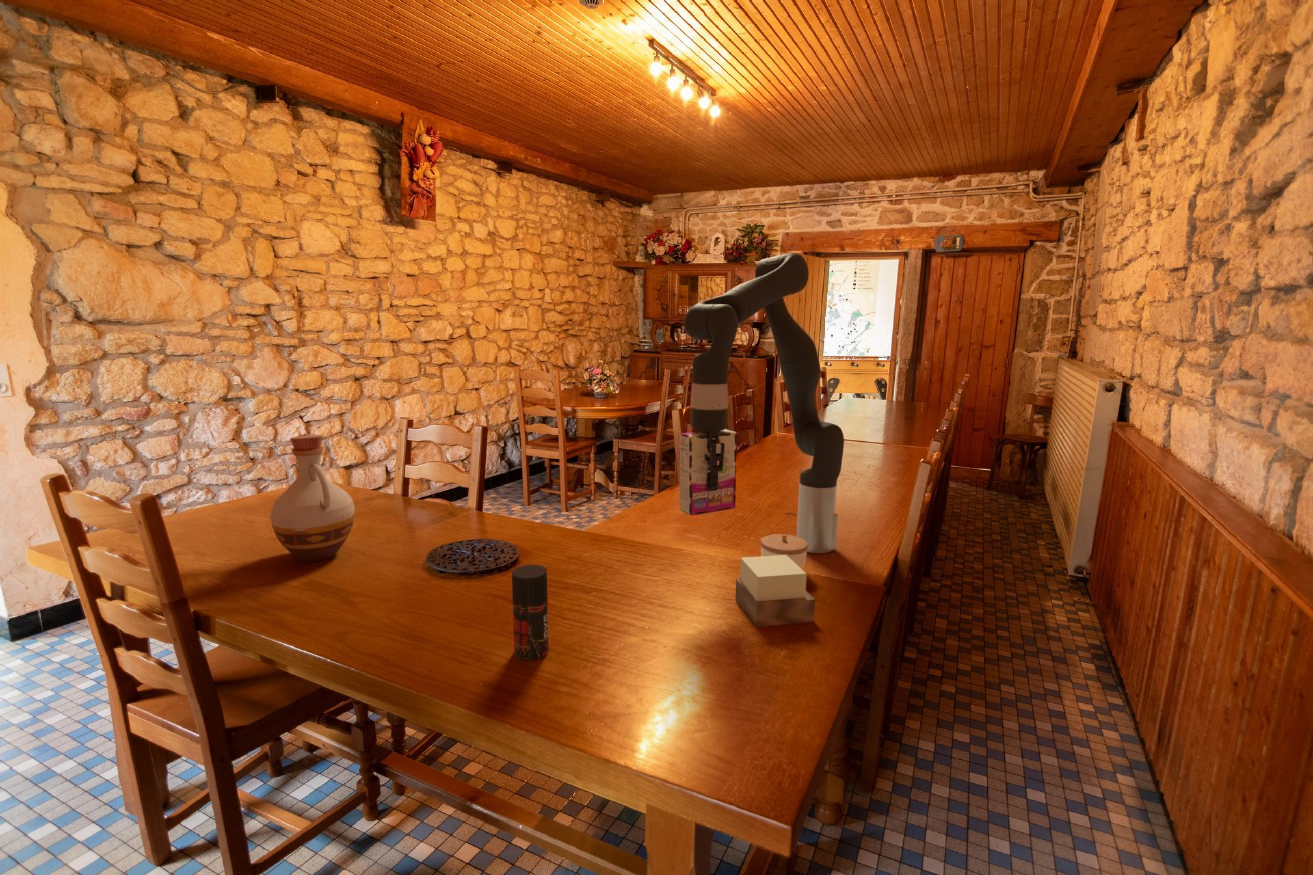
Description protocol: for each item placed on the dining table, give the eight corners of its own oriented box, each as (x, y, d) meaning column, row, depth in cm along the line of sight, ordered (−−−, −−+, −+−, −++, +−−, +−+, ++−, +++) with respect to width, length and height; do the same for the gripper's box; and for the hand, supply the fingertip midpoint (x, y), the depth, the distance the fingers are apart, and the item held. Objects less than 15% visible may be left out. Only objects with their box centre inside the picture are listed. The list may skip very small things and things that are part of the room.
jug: (372, 557, 150) (363, 436, 145) (291, 578, 137) (278, 447, 132) (341, 537, 163) (332, 426, 158) (265, 555, 150) (251, 435, 145)
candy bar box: (723, 502, 133) (725, 428, 129) (736, 509, 128) (738, 431, 125) (677, 509, 128) (678, 432, 125) (689, 516, 123) (690, 436, 120)
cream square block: (784, 577, 130) (786, 554, 129) (805, 597, 120) (806, 573, 119) (739, 580, 128) (740, 557, 127) (756, 601, 118) (757, 576, 117)
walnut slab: (788, 596, 132) (789, 574, 131) (813, 623, 121) (815, 599, 120) (735, 601, 130) (736, 579, 129) (756, 628, 118) (757, 604, 117)
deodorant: (516, 643, 111) (514, 564, 108) (550, 642, 111) (548, 564, 109) (512, 661, 105) (509, 578, 102) (547, 659, 105) (545, 577, 103)
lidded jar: (754, 578, 141) (756, 539, 139) (764, 561, 150) (766, 525, 149) (802, 585, 137) (804, 545, 135) (809, 568, 147) (811, 530, 145)
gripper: (739, 410, 118) (736, 494, 121) (716, 400, 131) (714, 476, 135) (701, 411, 116) (699, 497, 119) (682, 401, 130) (681, 478, 133)
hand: (707, 485), depth 127 cm, fingers closed on candy bar box, 5 cm apart
